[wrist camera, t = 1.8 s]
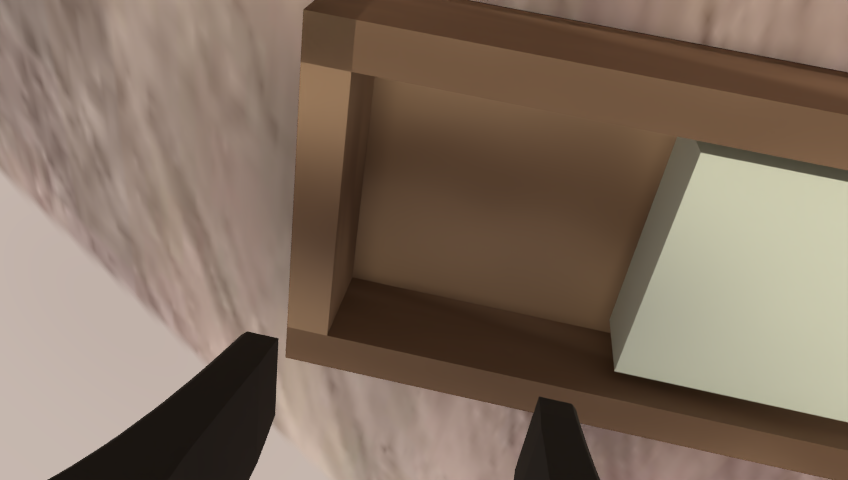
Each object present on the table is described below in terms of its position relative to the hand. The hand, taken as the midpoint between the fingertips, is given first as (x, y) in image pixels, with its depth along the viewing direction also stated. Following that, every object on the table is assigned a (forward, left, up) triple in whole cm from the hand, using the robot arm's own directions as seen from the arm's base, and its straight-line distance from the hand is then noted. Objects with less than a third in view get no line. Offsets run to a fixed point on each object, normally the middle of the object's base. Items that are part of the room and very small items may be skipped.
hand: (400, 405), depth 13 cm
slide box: (0, -5, -9) cm, 11 cm away
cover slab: (0, -10, -9) cm, 13 cm away
